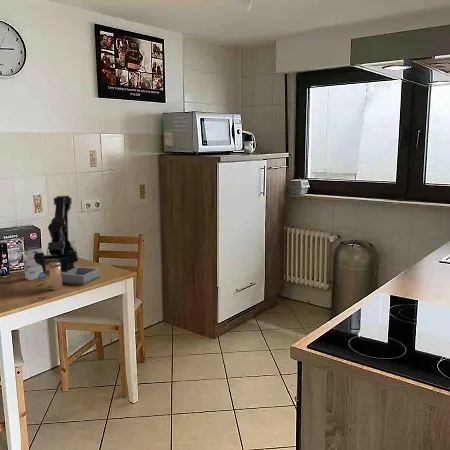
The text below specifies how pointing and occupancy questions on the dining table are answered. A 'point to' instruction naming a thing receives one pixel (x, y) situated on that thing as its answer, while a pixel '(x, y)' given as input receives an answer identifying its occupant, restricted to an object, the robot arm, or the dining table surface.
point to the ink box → (32, 266)
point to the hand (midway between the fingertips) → (55, 273)
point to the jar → (55, 275)
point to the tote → (80, 275)
